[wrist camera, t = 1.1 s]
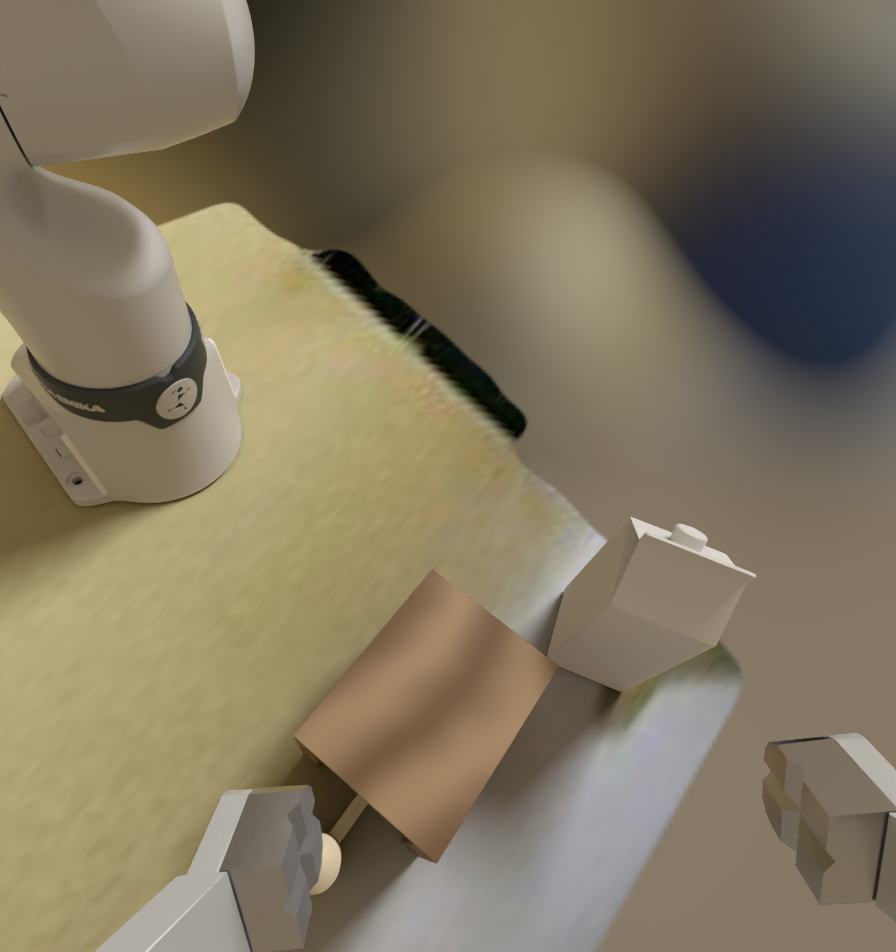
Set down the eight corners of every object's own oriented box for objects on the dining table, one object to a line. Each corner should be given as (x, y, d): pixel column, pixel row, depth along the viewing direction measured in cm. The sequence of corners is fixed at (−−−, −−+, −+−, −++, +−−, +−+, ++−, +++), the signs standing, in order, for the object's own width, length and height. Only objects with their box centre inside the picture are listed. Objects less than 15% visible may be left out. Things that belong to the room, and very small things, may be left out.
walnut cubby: (303, 753, 44) (293, 735, 36) (417, 613, 51) (432, 569, 42) (418, 856, 42) (436, 863, 33) (521, 694, 49) (559, 666, 40)
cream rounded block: (280, 849, 41) (261, 855, 32) (420, 667, 49) (437, 629, 39) (334, 901, 40) (331, 923, 31) (468, 706, 48) (498, 676, 38)
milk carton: (622, 693, 50) (752, 629, 34) (544, 661, 51) (636, 582, 35) (636, 618, 54) (759, 528, 38) (563, 588, 54) (655, 487, 38)
